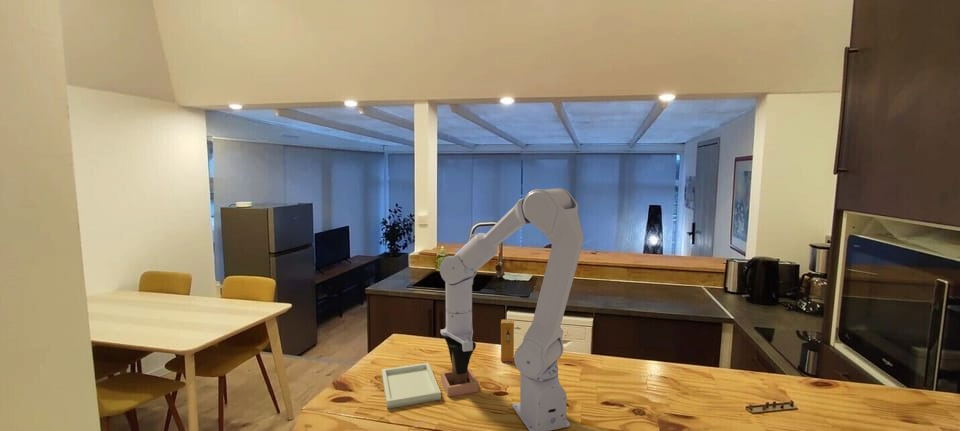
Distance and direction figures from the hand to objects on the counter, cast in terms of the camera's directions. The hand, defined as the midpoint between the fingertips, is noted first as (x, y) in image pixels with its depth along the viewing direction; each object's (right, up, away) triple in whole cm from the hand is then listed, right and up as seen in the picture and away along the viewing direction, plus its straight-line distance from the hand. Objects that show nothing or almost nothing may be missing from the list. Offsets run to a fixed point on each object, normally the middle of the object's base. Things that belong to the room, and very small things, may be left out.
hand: (459, 369), depth 89 cm
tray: (-11, -4, 0) cm, 12 cm away
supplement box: (+12, -3, +14) cm, 18 cm away
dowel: (0, -4, 0) cm, 4 cm away
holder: (0, -4, 0) cm, 4 cm away
